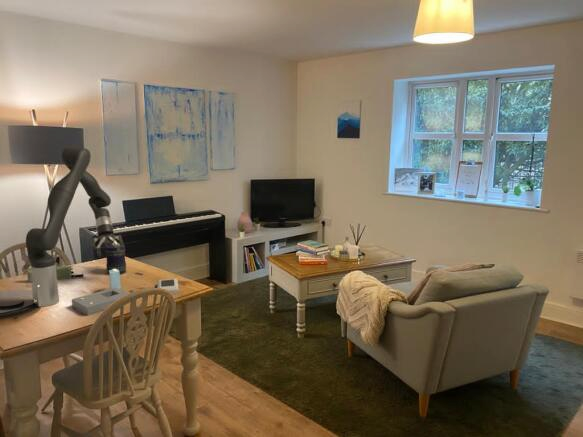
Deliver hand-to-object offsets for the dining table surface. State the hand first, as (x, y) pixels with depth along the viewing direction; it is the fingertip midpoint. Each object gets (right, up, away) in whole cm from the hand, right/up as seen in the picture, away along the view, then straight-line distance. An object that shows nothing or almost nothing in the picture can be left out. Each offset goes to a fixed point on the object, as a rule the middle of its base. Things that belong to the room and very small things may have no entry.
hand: (109, 254), depth 219 cm
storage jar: (-5, -11, +21) cm, 24 cm away
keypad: (+29, -17, -3) cm, 34 cm away
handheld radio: (-30, -14, +8) cm, 34 cm away
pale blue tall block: (+6, -17, -7) cm, 19 cm away
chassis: (+6, -20, -23) cm, 31 cm away
